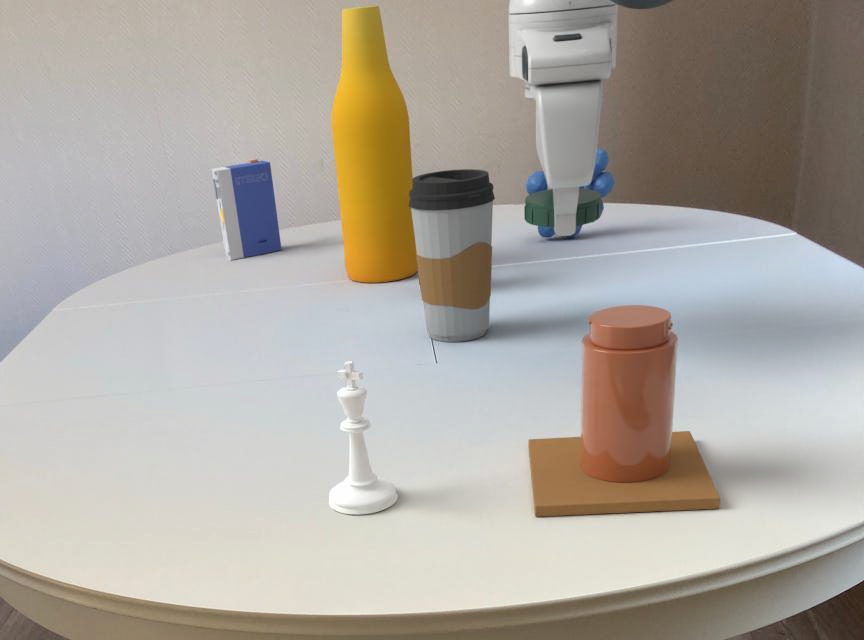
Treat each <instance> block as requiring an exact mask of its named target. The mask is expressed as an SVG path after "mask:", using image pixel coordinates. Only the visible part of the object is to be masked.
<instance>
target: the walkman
mask: <svg viewBox="0 0 864 640" xmlns="http://www.w3.org/2000/svg"><path fill="white" fill-rule="evenodd" d="M211 173H212V178H213V179H212V182H213V189H214V196H215V200H216V205H217V209H218V216H219V222H220V229H221V235H222V243H223V248H224V254H225V258H227V260H229V261H234V260H235V261H236V260H239V259H244V258H249V257H254V256H255V257H256V256H259V255H264V254H269V253H274V252H279V251H283V250H282V242H281V235H280V227H279V220H278V219H279V218H278V213H277V205H276V197H275V189H274V183H273V182H274V181H273V175H272V174H273V173H272V167H271V162H270V161H266V160H259V159H258V158H254V159H253V158H252V159H248V162H245V163H239V164H234V165H227V166H221V167H215V168H211Z"/></svg>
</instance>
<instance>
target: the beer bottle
mask: <svg viewBox="0 0 864 640" xmlns="http://www.w3.org/2000/svg"><path fill="white" fill-rule="evenodd" d="M382 21H383V20H382V15H381V11H380V6H379V5H370V6H359V7H350V8H349V7H348V8H343V9H341V72H340V78H339V80H338V85H337V87H336V91H335V94H334V98H333V103H332V108H331V121H330V123H331V135H332V141H333V142H332V143H333V153H334V163H335V172H336V173H335V174H336V181H337V182H336V183H337V192H338V201H339V213H340V221H341V230H342V240H343V241H342V242H343V254H344V255H343V256H344V266H345V272H346V275H347V276H348V278H349V279H350V280H351V281H353V282H358V283H365V284H366V283H367V284H375V283H378V284H379V283H387V282H396V281H399V280H404V279H407V278H409V277H413V276H414V275H415V274H416V273H417V272H418V265H417V257H416V242H415V235H414V227H413V219H412V211H411V207H409V200H410V197H409V191H410V190H412V183H413V178H414V177H413V162H412V146H411V133H410V130H411V129H410V116H409V111H408V106H407V103H406V99H405V97H404V95H403V92H402V90H401V87H400V85H399V84H398V82H397V80H396V77H395V75H394V74H393V71H392V69H391V65H390V61H389V55H388V51H387V45H386V40H385V33H384V27H383V22H382Z"/></svg>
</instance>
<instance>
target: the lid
mask: <svg viewBox="0 0 864 640" xmlns="http://www.w3.org/2000/svg"><path fill="white" fill-rule="evenodd" d="M601 201H602V202H603V200H602V198H601V194H600V193H599V192H597V191H595V190H590V189H583V188H579V198H578V204H577V211H576V226H579V225H582V226H583V225H588V224H591V223H594V222H596V221H598V220H599V219H600V218H601V217H600V215H601V216H602V214H601ZM524 203H525V204H524V209H523V210H524V211H523V212H524V221H525V222H526V223H527V224H529V225H531V226H536V227H538V226H541V227H554V200H553V189H550V190H544V191H539V192H536V193H533V194H530V195H529V194H528V195H526V197H525V199H524Z"/></svg>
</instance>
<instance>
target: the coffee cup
mask: <svg viewBox="0 0 864 640" xmlns="http://www.w3.org/2000/svg"><path fill="white" fill-rule="evenodd" d="M409 197H410V200H409V207H411V211H412V219H413V227H414V235H415V242H416V257H417V265H418V269H417V272H418V281H419V280H420V285H419V286H420V295H421V301H422V303H423V311H424V317H425V318H424V320H425V327H426V331H427V332H428V333H429V337H430V338H431V339H432V340H434V341H438V342H445V343H457V342H458V343H459V342H468V341H472V340H475V339H479V338H481V337H483V336H485V335H486V333H487V329H488V328H489V327H490V312H491V311H490V309H491V308H490V307H491V306H490V305H491V297H492V296H491V295H492V267H493V265H492V264H493V246H492V245H493V244H492V241H493V205H494V200H495V199H496V198H495V193H494V184H493V183H492V182H491V181H490V174H489V171H486V170H483V169H472V168H471V169H464V168H463V169H461V168H460V169H447V170H439V171H433V172H427V173H424V174H419V175H416V176H414V177H413V183H412V190H410V191H409Z"/></svg>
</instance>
